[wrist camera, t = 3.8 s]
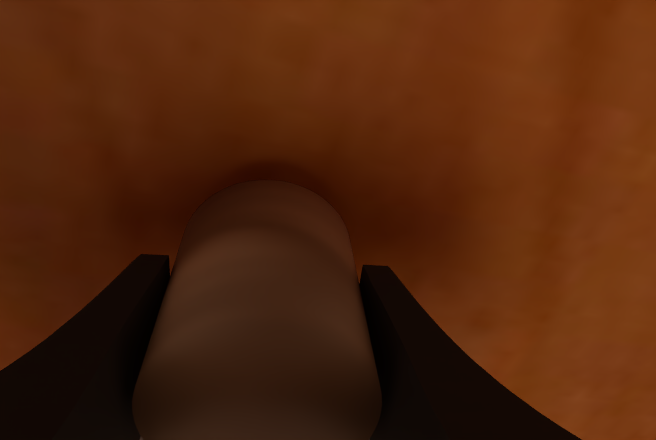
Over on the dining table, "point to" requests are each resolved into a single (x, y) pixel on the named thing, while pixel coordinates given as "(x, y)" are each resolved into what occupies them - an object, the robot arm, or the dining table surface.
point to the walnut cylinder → (260, 326)
